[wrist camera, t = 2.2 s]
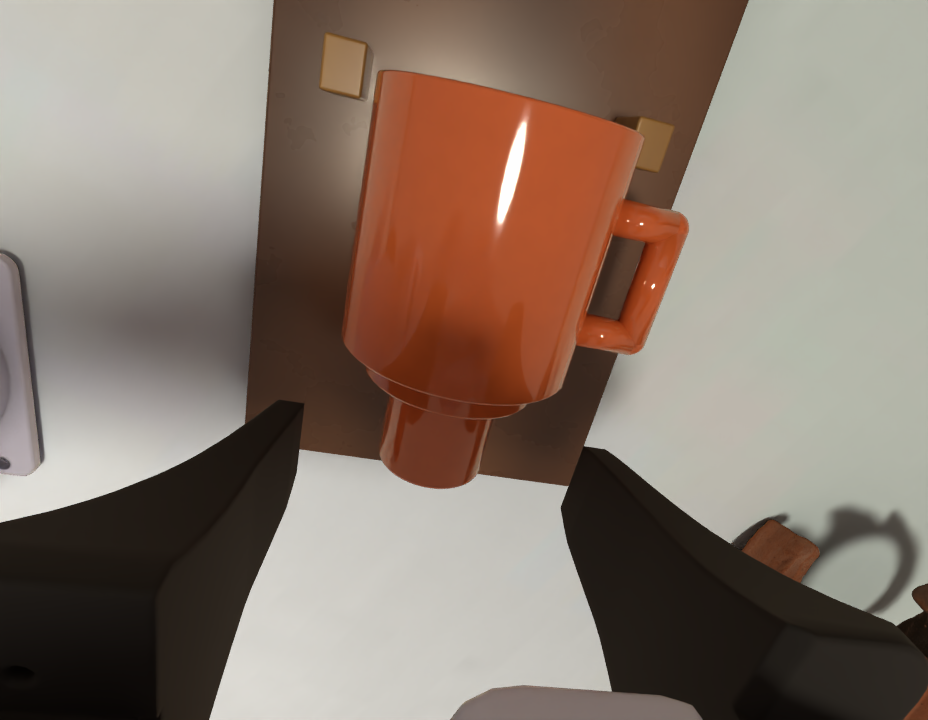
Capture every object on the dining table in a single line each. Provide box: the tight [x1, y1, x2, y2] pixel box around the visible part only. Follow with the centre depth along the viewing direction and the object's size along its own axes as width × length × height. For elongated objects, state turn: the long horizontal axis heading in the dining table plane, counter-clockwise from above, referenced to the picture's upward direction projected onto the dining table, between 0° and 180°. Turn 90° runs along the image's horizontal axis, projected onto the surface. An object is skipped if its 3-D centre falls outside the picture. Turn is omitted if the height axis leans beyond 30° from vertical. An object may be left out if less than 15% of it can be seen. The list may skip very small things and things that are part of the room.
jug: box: [341, 70, 689, 489], centre depth 14 cm, size 6×8×10 cm
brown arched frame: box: [741, 519, 928, 720], centre depth 23 cm, size 12×10×8 cm
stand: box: [245, 0, 749, 486], centre depth 15 cm, size 12×20×3 cm, turn 167°
